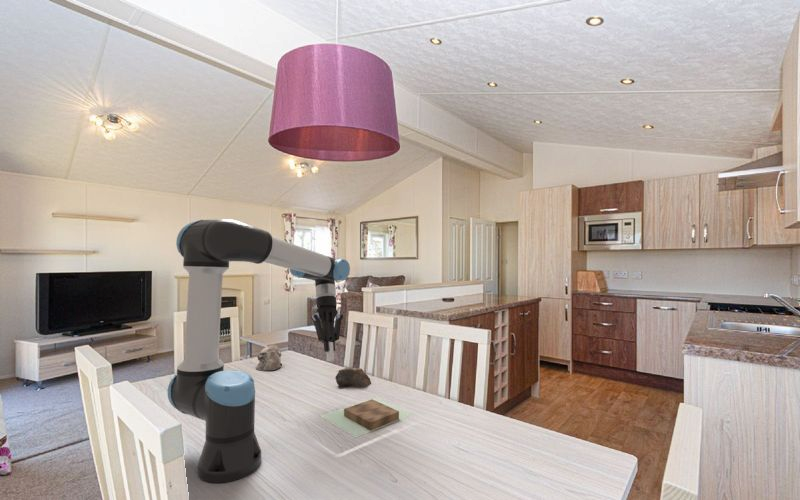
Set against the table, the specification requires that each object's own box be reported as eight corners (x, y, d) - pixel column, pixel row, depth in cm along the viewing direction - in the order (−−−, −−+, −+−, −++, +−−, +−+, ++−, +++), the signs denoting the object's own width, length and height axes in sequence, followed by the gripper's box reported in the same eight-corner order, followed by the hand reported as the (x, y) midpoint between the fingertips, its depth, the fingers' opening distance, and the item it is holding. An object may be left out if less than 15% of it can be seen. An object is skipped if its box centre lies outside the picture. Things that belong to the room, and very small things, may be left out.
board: (344, 416, 129) (370, 430, 118) (344, 408, 129) (370, 422, 118) (372, 406, 137) (398, 419, 127) (372, 399, 137) (398, 411, 127)
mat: (355, 440, 114) (355, 437, 114) (319, 418, 129) (319, 416, 129) (412, 416, 130) (412, 414, 130) (375, 399, 145) (375, 397, 145)
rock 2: (366, 393, 154) (374, 385, 164) (368, 372, 154) (376, 365, 163) (333, 387, 158) (343, 379, 167) (334, 366, 157) (344, 359, 167)
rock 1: (285, 369, 182) (285, 348, 182) (259, 373, 175) (259, 351, 175) (276, 361, 195) (276, 341, 195) (251, 365, 188) (251, 344, 188)
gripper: (335, 299, 154) (339, 360, 147) (305, 298, 145) (309, 363, 138) (345, 295, 149) (351, 358, 141) (316, 293, 140) (320, 360, 133)
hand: (330, 360), depth 140 cm, fingers closed
